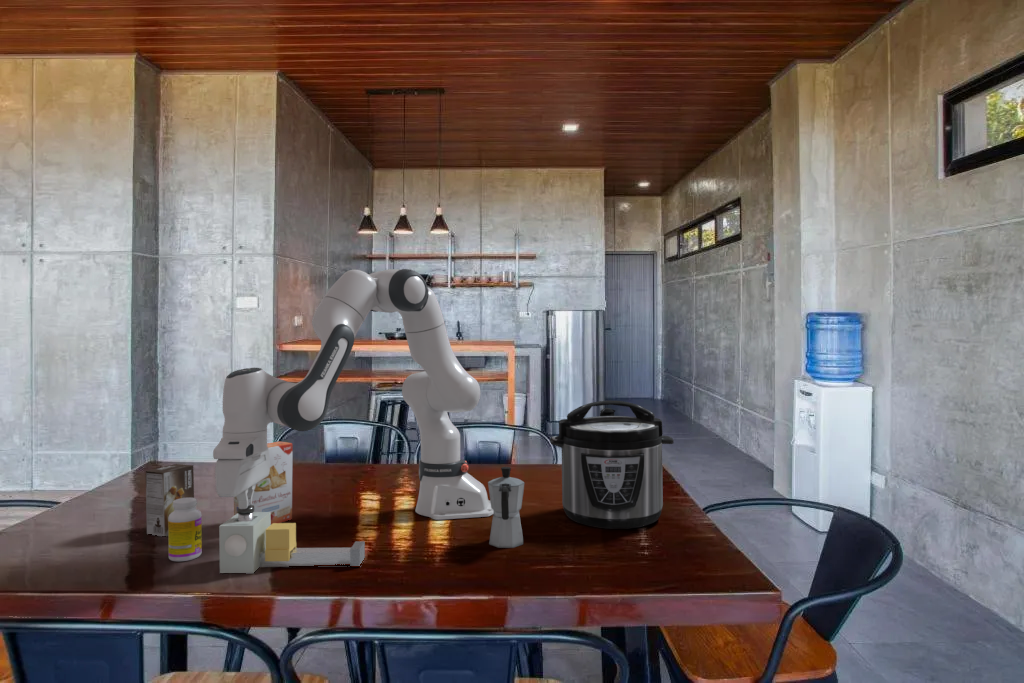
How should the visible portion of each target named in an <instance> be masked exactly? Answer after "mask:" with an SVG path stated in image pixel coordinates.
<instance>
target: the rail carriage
mask: <svg viewBox="0 0 1024 683" xmlns="http://www.w3.org/2000/svg"><path fill="white" fill-rule="evenodd" d="M293 548H297V523H296V522H282V523H273V524H271V525H270V526H269V527H268V528H267V529H266V550H265V561H289V560H290V551H291V550H292V549H293Z"/></svg>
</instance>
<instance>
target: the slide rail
mask: <svg viewBox="0 0 1024 683" xmlns="http://www.w3.org/2000/svg"><path fill="white" fill-rule="evenodd" d="M365 546H366V544H365V541H364V540H362V541H358V540H357V541H354V543H353V545H352V546H351V547H296V548H293V549H292V550H291V551H290V560H289V561H265V550H266V548H265V549H264V550H263V551H262V552H261V553H260V568H280V567H281V568H290V567H289V566H314V565H335V564H336V565H337V564H340V565H341V564H342V565H343V564H344V565H345V564H350V566H360V564H361V563H362V561H363V560H364V558H366V556H365V555H366V554H365V553H366V552H365V548H366V547H365ZM364 561H365V560H364ZM364 561H363V562H364ZM362 564H363V563H362ZM350 566H349V567H350ZM360 567H361V566H360Z"/></svg>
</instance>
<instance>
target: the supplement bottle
mask: <svg viewBox="0 0 1024 683" xmlns="http://www.w3.org/2000/svg"><path fill="white" fill-rule="evenodd" d="M197 502H198V500H197V498H196V497H194V498H180V499H176V500H174V501H173V507H174V511H173V512H172V513H171V514H170V515H169V517H168V536H167V537H168V539H167V540H168V559H169V560H170V561H172V562H187V561H192V560H195V559H196V558H199V557H201V555H202V553H203V551H202V550H203V549H202V548H203V547H202V546H203V540H202V539H203V538H202V537H203V533H202V530H203V529H202V528H203V527H202V524H203V522H202V521H203V520H202V517H203V516H202V512H201V510H200V509H198V508H197V504H198V503H197Z"/></svg>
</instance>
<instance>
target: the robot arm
mask: <svg viewBox="0 0 1024 683" xmlns="http://www.w3.org/2000/svg"><path fill="white" fill-rule="evenodd" d="M370 312H372V313H373V312H374V313H376V312H379V313H389V314H390V313H396V312H397V313H399V315H400V317H401V318H402V323H403V325H402V326H403V329H404V333H405V337H406V341H407V344H408V345H407V346H408V349H409V352H410V357H411V358H412V360H414V362H415V363H416V364H418V366H420V367H421V368H422V369H423V371H419V372H415V373H411V374H410V375H408V376H406V378H405V380H403V381H404V382H403V383H402V388H401V394H402V395H401V396H402V398H403V400H404V402H405V403H406V404H407V405H408V406H409V408H410V409H411V411H412V412H413V415H414V417H415V419H416V422H417V426H418V430H419V436H420V461H419V464H418V478H419V481H420V482H419V489H418V490H419V492H418V497H417V502H416V507H415V513H416V514H418V515H421V516H424V517H429V518H431V519H432V520H437V521H438V520H439V521H440V520H441V521H442V520H453V519H469V518H481V517H482V518H483V517H485V518H486V517H490V516H493V509H492V508H491V502H490V500H489V498H488V492H487V490H486V487H485V485H484V484H483V483H481V482H480V481H479V480H477V479H476V478H475V477H473V475H471V474H470V473H468V471H469V464H468V462H467V460H464V459H461V433H460V431H459V429H458V428H457V426H456V425H454V424H453V422H452V421H451V419H450V417H449V413H453V414H460V413H465V412H470V411H473V410H474V409H476V407H477V406H478V404H479V403H480V399H481V387H480V384H479V382H478V380H477V379H476V378H474V377H473V376H472V375H471V374H469V373H468V371H466V369H464V367H463V365H462V364H461V363H460V361H459V360H458V358H457V356H456V354H455V353H454V351H453V347H452V346H451V342H450V339H449V335H448V332H447V326H446V324H445V318H444V315H443V311H442V309H441V306H440V303H439V301H438V298H437V296H436V293H435V292H434V290H432V289H431V288H430V287H428V286H427V283H426V281H425V279H424V277H423V276H422V275H421V274H420V273H419V272H417V271H415V270H413V269H408V268H402V269H400V268H399V269H397V268H394V269H393V268H390V269H389V268H386V269H384V270H383V269H382V270H379V271H370V272H366V271H363V270H360V269H349V270H346V271H345V272H344V273H342V275H341V276H340V277H339V278H338V279H337V280H336V281H335V282H334V283H333V284H332V286H331V287H330V288H329V289H328V290H327V292H326V293H325V295H324V296H323V298H322V299H321V301H320V302H319V304H318V306H317V307H316V309H315V311H314V314H313V316H312V320H311V325H312V329H313V331H314V333H315V335H316V337H318V339H319V340H320V341H321V342H320V343H321V344H320V349H319V350H318V353H317V355H316V356H315V358H314V360H313V363H312V364H311V366H310V367H309V370H308V372H307V374H306V376H304V377H303V379H301V380H300V381H298V382H291V381H286V380H284V379H281V378H278V377H276V376H273V375H272V374H269V373H268V372H267V371H265V370H264V369H263V368H260V367H249V368H242V369H236V370H234V371H232V372H230V373H229V374H228V375H226V378H225V380H224V384H223V391H222V414H223V418H224V424H223V425H222V426H223V427H222V437H221V439H220V441H219V443H217V445H216V446H215V448H213V452H212V457H213V458H212V459H213V460H216V462H215V467H214V474H215V476H214V479H215V492H216V493H217V496H218V497H220V498H234V497H235V496H237V499H238V501H239V509H246V508H248V507H249V506H251V505H252V497H253V493H254V489H255V484H256V483H257V482H259V481H261V480H262V479H264V478H265V477H267V476H268V475H269V472H270V460H269V450H268V447H267V443H268V425H269V424H271V423H275V424H278V425H280V426H285V427H287V428H289V429H292V430H295V431H297V432H308V431H311V430H313V429H315V428H317V427H319V425H320V424H321V423H322V422H323V421H324V419H325V417H326V415H327V413H328V408H329V403H330V399H331V395H332V391H333V389H334V387H335V385H336V383H337V381H338V378H340V374H341V373H342V371H343V368H344V367H345V365H346V362H347V361H348V358H349V356H350V354H351V352H352V350H353V348H354V347H353V346H354V343H355V338H356V336H357V334H358V332H359V331H360V328H361V327H362V325H363V323H364V322H365V320H366V319H367V316H368V314H369V313H370Z"/></svg>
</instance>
